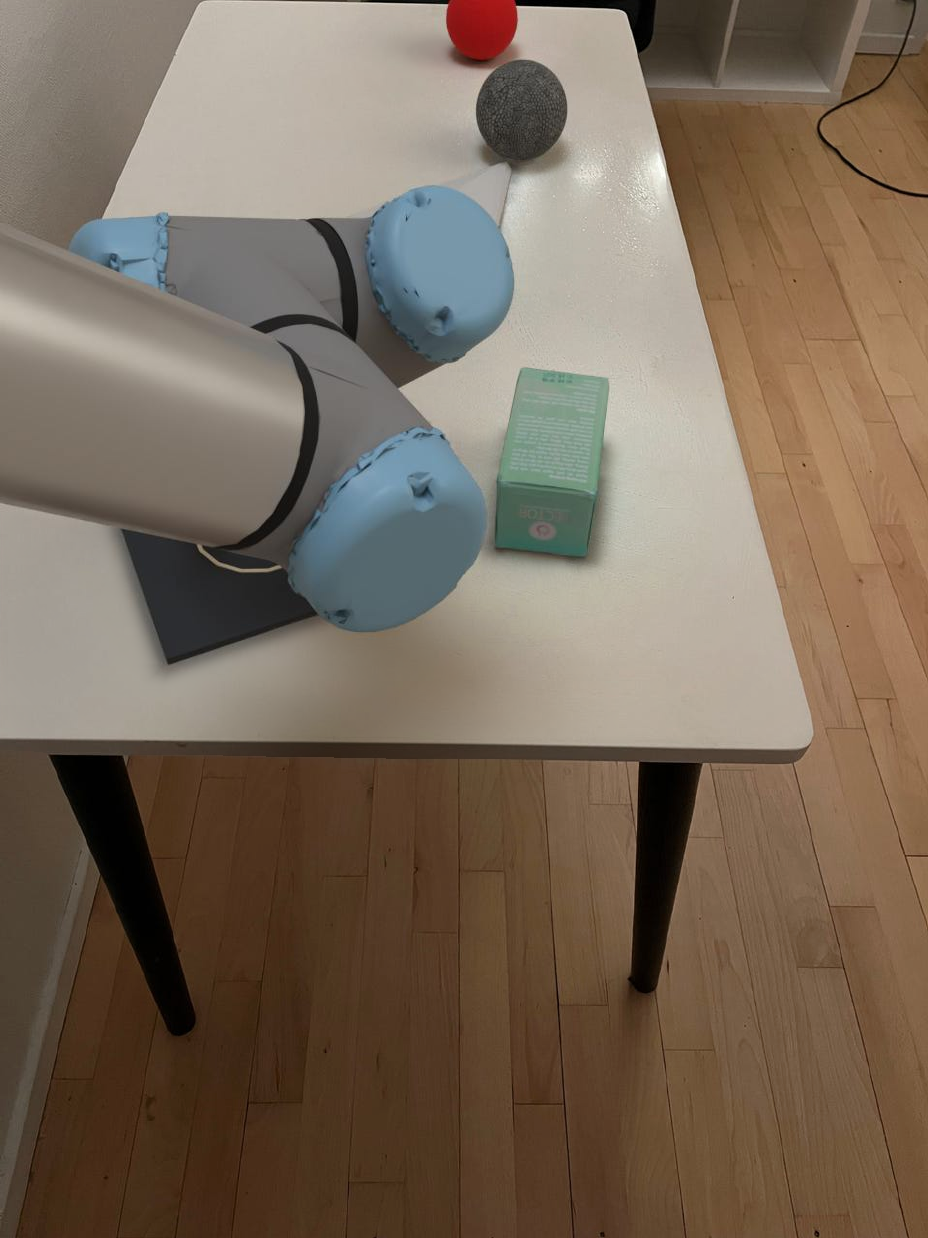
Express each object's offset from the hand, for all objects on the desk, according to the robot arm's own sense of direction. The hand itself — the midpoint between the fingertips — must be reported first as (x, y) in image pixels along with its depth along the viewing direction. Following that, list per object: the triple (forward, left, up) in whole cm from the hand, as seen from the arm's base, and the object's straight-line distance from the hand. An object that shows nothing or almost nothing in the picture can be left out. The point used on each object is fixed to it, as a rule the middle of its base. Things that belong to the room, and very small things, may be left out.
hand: (184, 448), depth 80 cm
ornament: (+55, +64, -6) cm, 84 cm away
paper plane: (+28, +29, -6) cm, 40 cm away
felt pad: (+4, -5, -6) cm, 8 cm away
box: (+26, -11, -6) cm, 29 cm away
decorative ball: (+48, +39, -6) cm, 62 cm away
